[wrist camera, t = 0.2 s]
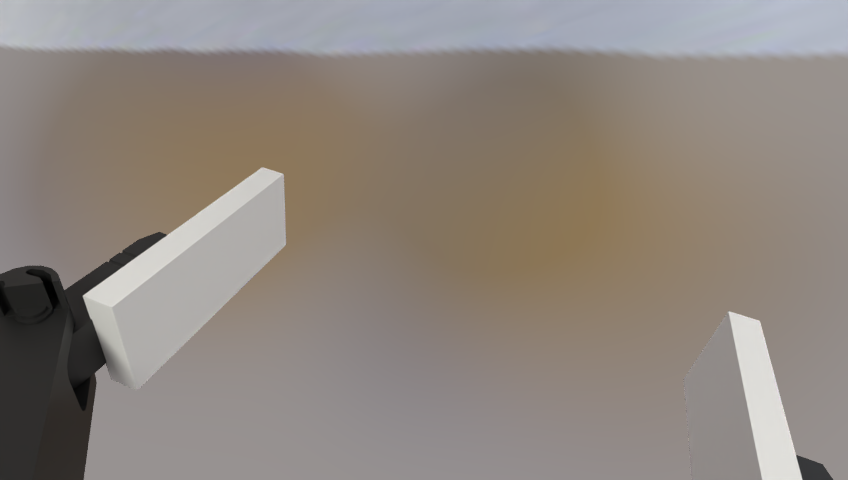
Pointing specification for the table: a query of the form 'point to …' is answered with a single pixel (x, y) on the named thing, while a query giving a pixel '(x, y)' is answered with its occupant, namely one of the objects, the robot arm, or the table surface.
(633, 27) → the table surface
